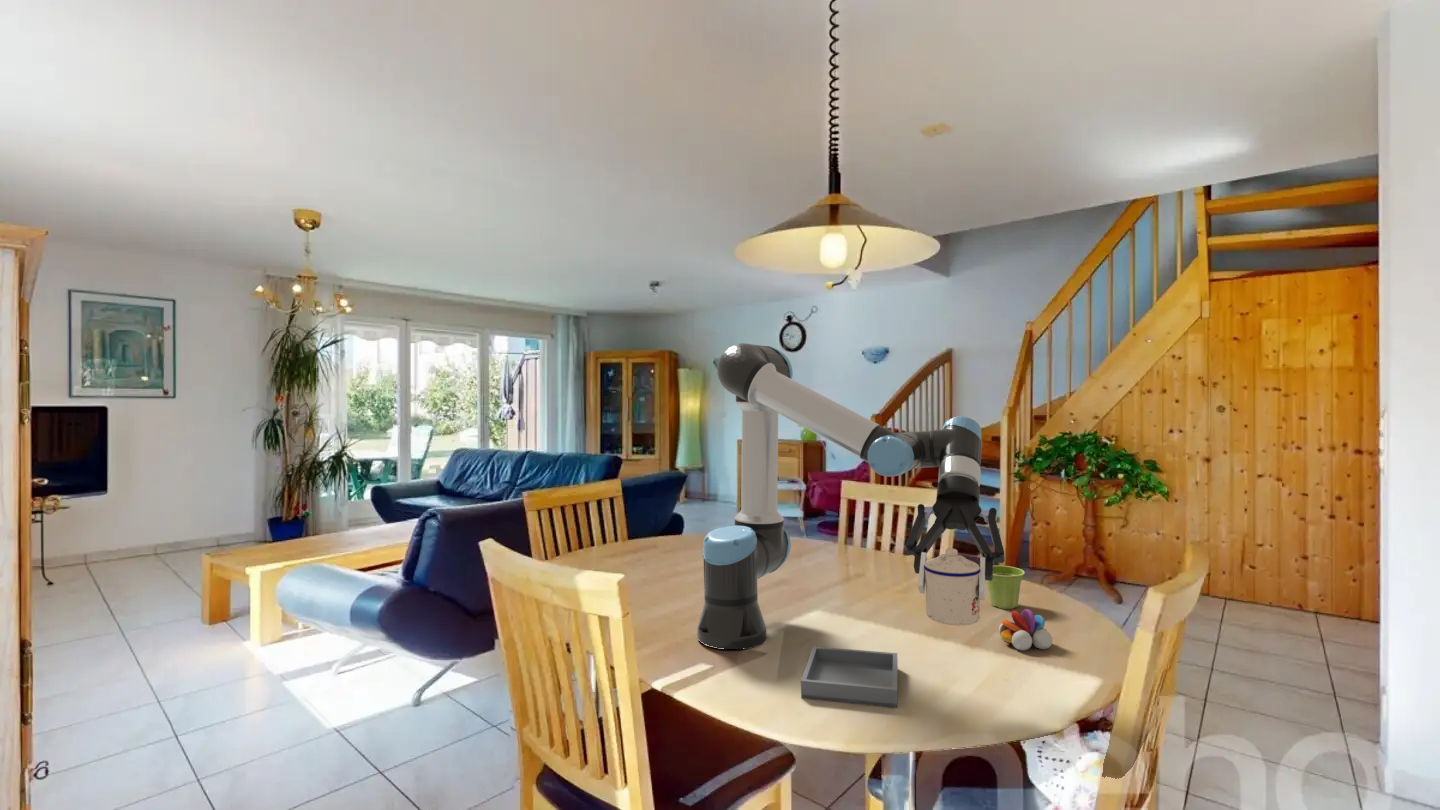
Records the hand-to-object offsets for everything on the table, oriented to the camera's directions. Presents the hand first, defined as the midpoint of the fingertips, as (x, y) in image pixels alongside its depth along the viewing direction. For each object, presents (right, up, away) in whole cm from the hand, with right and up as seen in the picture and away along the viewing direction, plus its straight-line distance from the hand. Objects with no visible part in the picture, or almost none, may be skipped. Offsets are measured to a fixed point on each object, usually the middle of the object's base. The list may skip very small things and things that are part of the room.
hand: (950, 592), depth 107 cm
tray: (-15, -19, +9) cm, 26 cm away
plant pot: (+31, -18, +50) cm, 61 cm away
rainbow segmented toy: (+24, -18, +25) cm, 39 cm away
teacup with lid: (+1, -5, +3) cm, 6 cm away
